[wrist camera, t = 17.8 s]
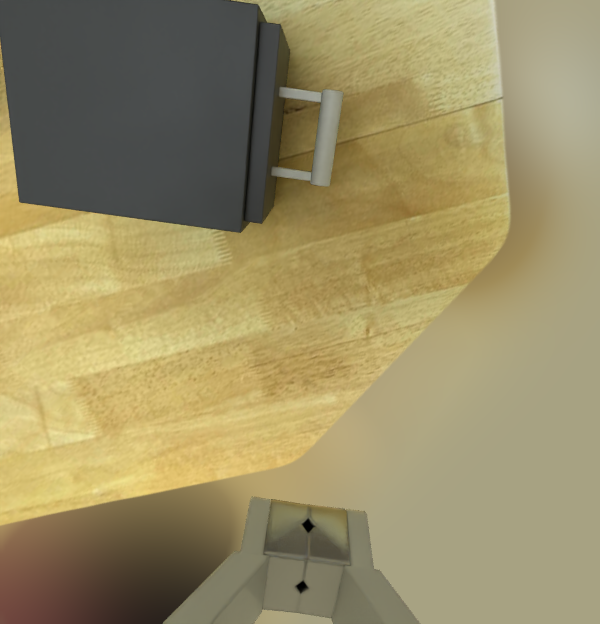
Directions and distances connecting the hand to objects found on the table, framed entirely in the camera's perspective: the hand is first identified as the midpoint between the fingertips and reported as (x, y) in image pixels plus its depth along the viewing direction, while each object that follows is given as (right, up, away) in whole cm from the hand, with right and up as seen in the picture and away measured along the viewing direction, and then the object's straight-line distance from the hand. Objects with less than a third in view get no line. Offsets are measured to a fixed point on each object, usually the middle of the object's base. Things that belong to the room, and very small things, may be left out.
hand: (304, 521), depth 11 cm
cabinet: (-10, +21, +23) cm, 33 cm away
